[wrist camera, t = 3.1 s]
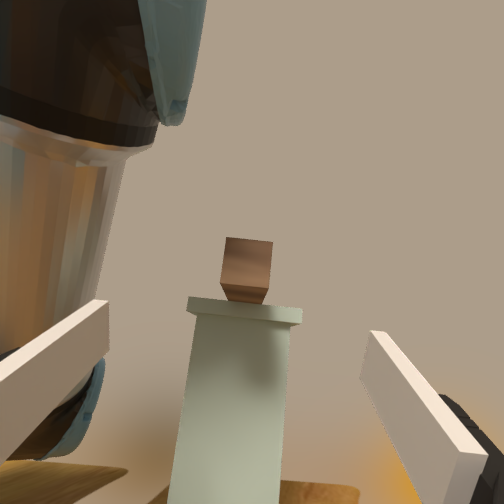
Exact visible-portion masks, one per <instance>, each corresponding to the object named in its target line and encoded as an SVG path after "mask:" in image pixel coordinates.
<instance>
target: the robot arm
mask: <svg viewBox="0 0 504 504" xmlns="http://www.w3.org/2000/svg"><path fill="white" fill-rule="evenodd" d="M206 2H207V0H0V466H1V465H2V464H3V463H4V462H5V461H10V460H27V459H33V460H36V461H42V460H45V459H47V458H49V457H59V456H65V455H68V454H70V453H71V452H73V451H74V450H75V449H76V448H77V447H78V445H79V444H80V443H81V441H82V439H83V438H84V436H85V433H86V431H87V429H88V427H89V424H90V421H91V418H92V413H93V411H94V409H95V407H96V404H97V401H98V398H99V394H100V390H101V386H102V383H103V377H104V371H105V360H104V358H103V356H104V355H105V354H106V353H107V352H108V351H109V301H103V300H95V299H94V298H95V294H96V289H97V285H98V281H99V276H100V272H101V267H102V263H103V259H104V254H105V250H106V246H107V241H108V237H109V232H110V227H111V224H112V219H113V215H114V210H115V206H116V202H117V197H118V193H119V188H120V184H121V179H122V175H123V171H124V166H125V161H126V160H127V159H128V158H129V157H130V156H133V155H135V154H137V153H139V152H142V151H144V150H147V149H148V148H150V147H152V145H153V142H154V138H155V134H156V131H157V127H158V123H159V122H161V124H163V125H165V126H170V125H171V126H178V125H180V124H181V123H182V121H183V119H184V116H185V113H186V107H187V102H188V97H189V94H190V90H191V87H192V83H193V78H194V72H195V68H196V62H197V57H198V51H199V46H200V40H201V34H202V28H203V22H204V15H205V9H206ZM360 380H361V382H362V384H363V386H364V388H365V390H366V392H367V394H368V396H369V398H370V400H371V402H372V404H373V406H374V408H375V410H376V412H377V414H378V416H379V418H380V420H381V422H382V424H383V426H384V428H385V430H386V432H387V434H388V436H389V438H390V440H391V442H392V444H393V446H394V448H395V450H396V452H397V454H398V456H399V458H400V460H401V462H402V464H403V466H404V468H405V470H406V472H407V474H408V476H409V478H410V480H411V482H412V484H413V486H414V488H415V490H416V492H417V494H418V496H419V498H420V500H421V502H422V504H504V455H503V454H502V453H501V451H500V450H499V449H498V448H497V447H496V446H495V445H494V444H493V442H492V441H491V440H490V439H489V438H488V437H487V436H486V435H485V434H484V432H483V431H482V430H479V427H478V426H477V425H476V424H475V422H474V421H473V420H471V419H470V417H469V416H468V415H467V413H466V412H465V411H464V410H463V409H462V408H461V407H460V406H459V405H458V404H457V403H455V402H454V401H453V400H451V399H450V398H449V397H447V396H446V395H441V394H437V393H436V392H435V390H434V389H433V388H432V387H431V386H430V385H429V383H428V382H427V381H426V380H425V379H424V377H423V376H422V375H421V374H420V373H419V371H418V370H417V369H416V368H415V367H414V365H413V364H412V363H411V362H410V361H409V359H408V358H407V357H406V356H405V355H404V354H403V352H402V351H401V350H400V349H399V347H398V346H397V345H396V344H395V343H394V342H393V340H392V339H391V338H390V337H389V336H388V334H387V333H386V332H381V331H372V330H370V333H369V338H368V342H367V347H366V352H365V356H364V361H363V366H362V370H361V375H360Z"/></svg>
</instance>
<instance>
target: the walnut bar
mask: <svg viewBox="0 0 504 504" xmlns="http://www.w3.org/2000/svg"><path fill="white" fill-rule="evenodd" d="M272 246H273V242H268V241H267V242H266V241H258V240H248V239H240V238H229V237H226V244H225V251H224V259H223V265H222V272H221V279H220V284H221V286H222V288H223V290H224V292H225V295H226V297H227V299H228V301H235V302H244V303H253V304H262V302H263V300H264V298H265V296H266V293H267V291H268V289H269V279H270V268H271V257H272Z"/></svg>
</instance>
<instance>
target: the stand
mask: <svg viewBox="0 0 504 504" xmlns="http://www.w3.org/2000/svg"><path fill="white" fill-rule="evenodd" d="M186 311H188V312H190V313H192V314H194V315H196V316H197V318H196V325H195V331H194V337H193V343H192V350H191V356H190V362H189V369H188V375H187V381H186V387H185V393H184V400H183V407H182V412H181V418H180V425H179V431H178V437H177V443H176V450H175V456H174V463H173V469H172V475H171V481H170V487H169V493H168V500H167V504H279V493H280V477H281V462H282V447H283V430H284V416H285V401H286V385H287V369H288V354H289V338H290V327H291V326H295V325H299V324H301V323H302V309H298V308H289V307H280V306H271V305H262V304H253V303H244V302H235V301H226V300H217V299H207V298H197V297H189V298H188V304H187V310H186Z"/></svg>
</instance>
